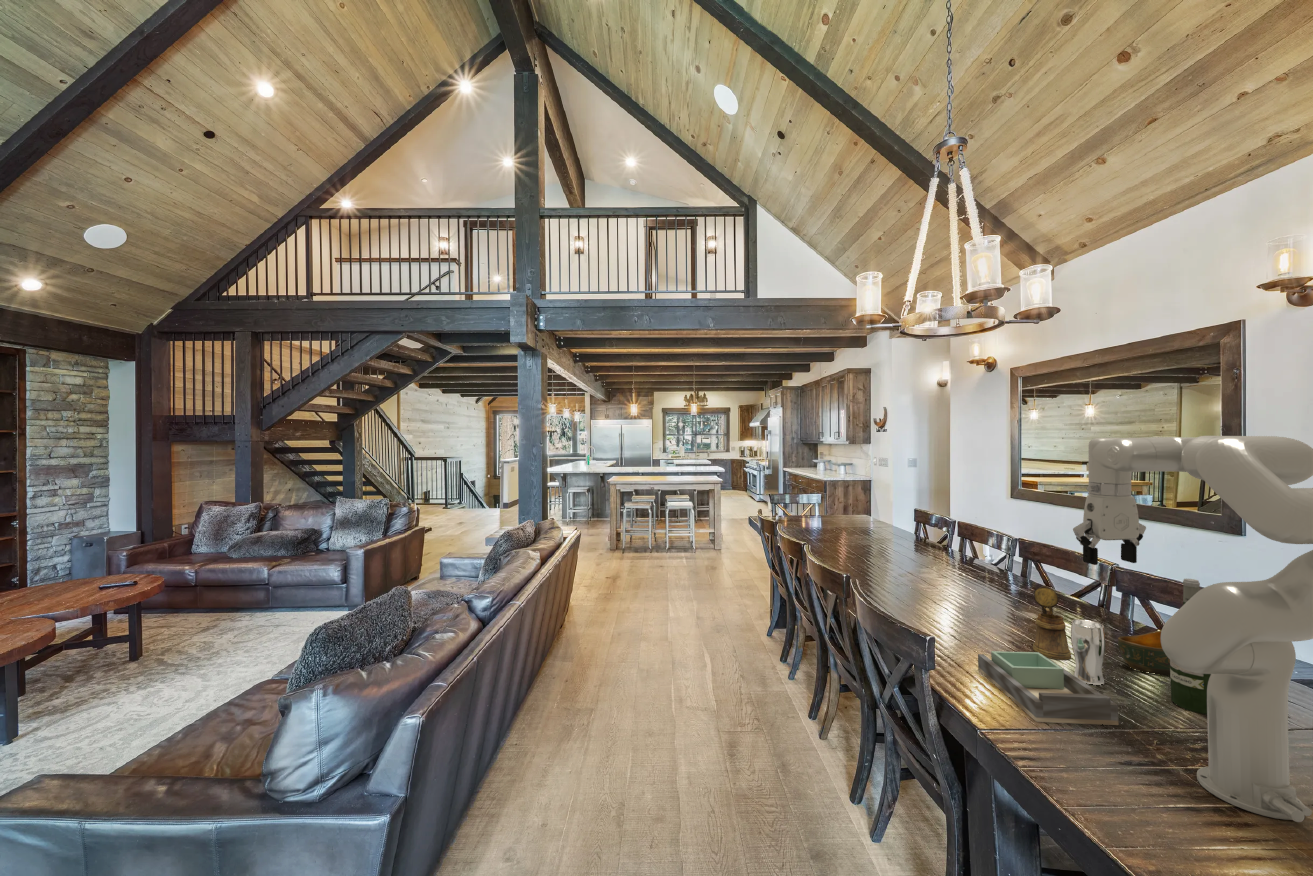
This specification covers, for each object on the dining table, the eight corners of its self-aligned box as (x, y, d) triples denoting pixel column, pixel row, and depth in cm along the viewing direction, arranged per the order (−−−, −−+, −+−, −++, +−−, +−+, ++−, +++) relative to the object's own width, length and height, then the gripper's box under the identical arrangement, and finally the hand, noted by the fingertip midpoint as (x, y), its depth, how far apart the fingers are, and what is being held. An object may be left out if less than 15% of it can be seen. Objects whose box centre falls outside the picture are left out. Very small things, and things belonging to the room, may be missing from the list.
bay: (1118, 725, 114) (1117, 698, 114) (1036, 721, 116) (1035, 695, 116) (1044, 672, 140) (1043, 650, 140) (978, 670, 142) (977, 648, 142)
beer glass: (1113, 687, 130) (1111, 629, 131) (1082, 685, 132) (1080, 627, 132) (1095, 675, 137) (1094, 619, 137) (1066, 673, 139) (1064, 618, 139)
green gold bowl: (1226, 688, 129) (1225, 647, 129) (1122, 672, 139) (1120, 635, 139) (1205, 668, 140) (1203, 631, 140) (1110, 655, 150) (1108, 620, 150)
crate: (1064, 688, 128) (1063, 669, 128) (1012, 687, 129) (1012, 667, 129) (1039, 670, 138) (1038, 652, 138) (991, 669, 139) (991, 651, 139)
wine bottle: (1163, 701, 123) (1160, 577, 123) (1182, 695, 126) (1178, 574, 126) (1208, 718, 116) (1204, 586, 116) (1226, 711, 119) (1223, 582, 119)
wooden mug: (1064, 645, 157) (1063, 587, 157) (1074, 662, 145) (1072, 599, 145) (1029, 640, 161) (1027, 583, 161) (1035, 656, 149) (1034, 595, 150)
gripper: (1089, 493, 115) (1089, 568, 116) (1160, 491, 116) (1160, 565, 117) (1061, 489, 123) (1061, 559, 123) (1127, 487, 124) (1127, 556, 124)
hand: (1109, 562), depth 120 cm, fingers open, 9 cm apart
